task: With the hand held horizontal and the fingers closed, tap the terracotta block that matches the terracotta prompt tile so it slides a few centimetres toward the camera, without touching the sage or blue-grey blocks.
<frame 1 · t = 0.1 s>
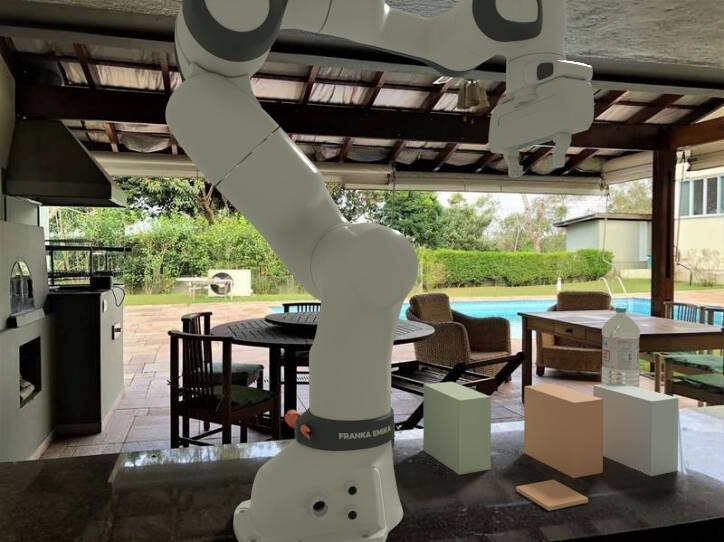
hand: (534, 172, 84), 48 cm above the counter, tool pointing down, fingers open, 8 cm apart
prompt tile: (551, 496, 78), on the counter
blue-grey block: (633, 460, 93), on the counter
sage block: (455, 459, 93), on the counter
water bottle: (619, 433, 107), on the counter
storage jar: (364, 447, 100), on the counter
terracotta block: (561, 462, 92), on the counter
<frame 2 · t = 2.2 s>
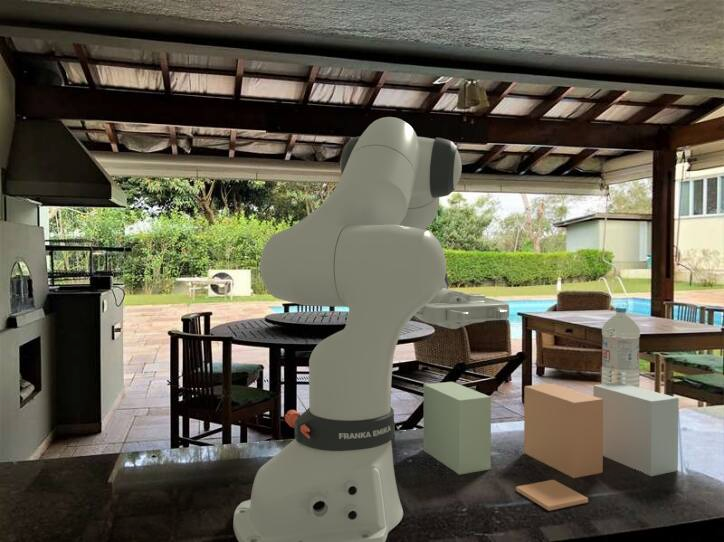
hand: (485, 315, 113), 23 cm above the counter, tool horizontal, fingers open, 8 cm apart
nothing on the counter moved.
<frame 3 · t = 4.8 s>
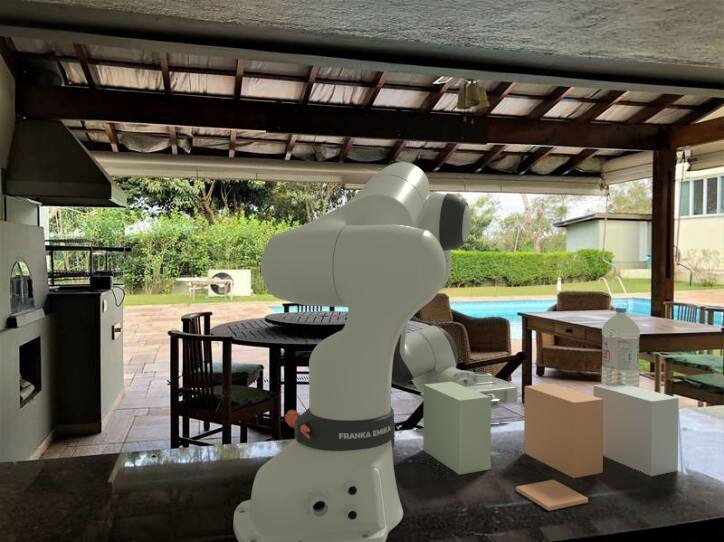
hand: (494, 404, 109), 5 cm above the counter, tool horizontal, fingers closed
nothing on the counter moved.
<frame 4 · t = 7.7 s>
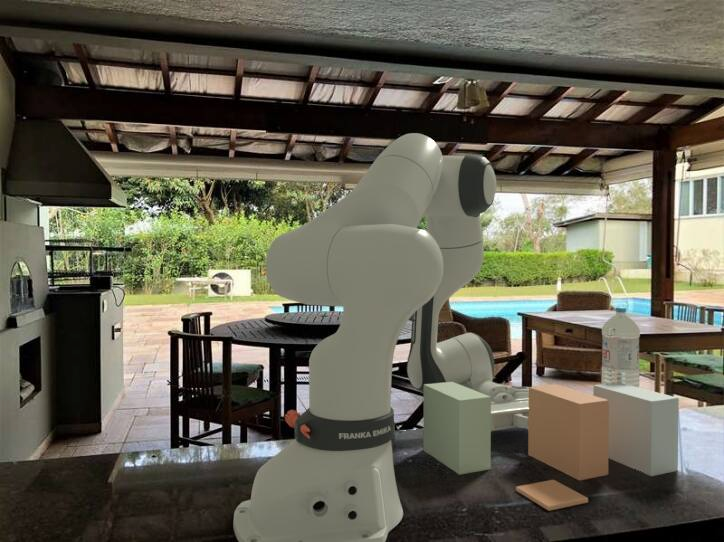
hand: (541, 425, 96), 5 cm above the counter, tool horizontal, fingers closed, pressing on terracotta block
terracotta block: (566, 464, 91), on the counter, touching gripper
everything else where it was.
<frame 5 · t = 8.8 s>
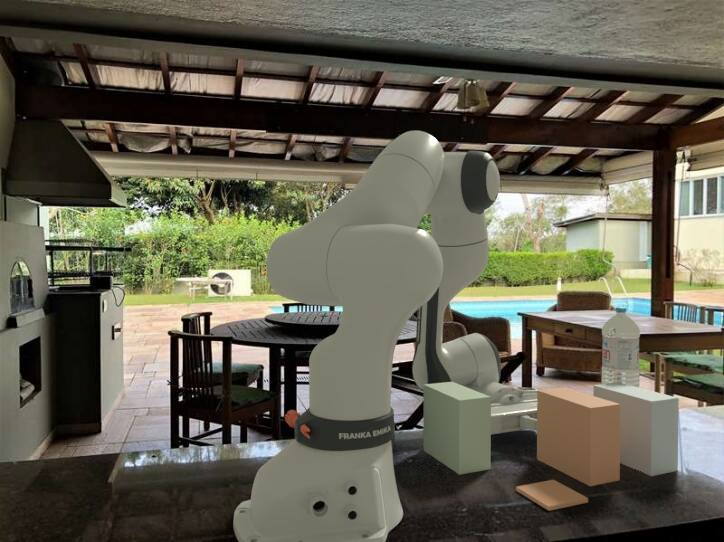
hand: (549, 427, 95), 5 cm above the counter, tool horizontal, fingers closed
terracotta block: (576, 469, 89), on the counter
everything else where it was.
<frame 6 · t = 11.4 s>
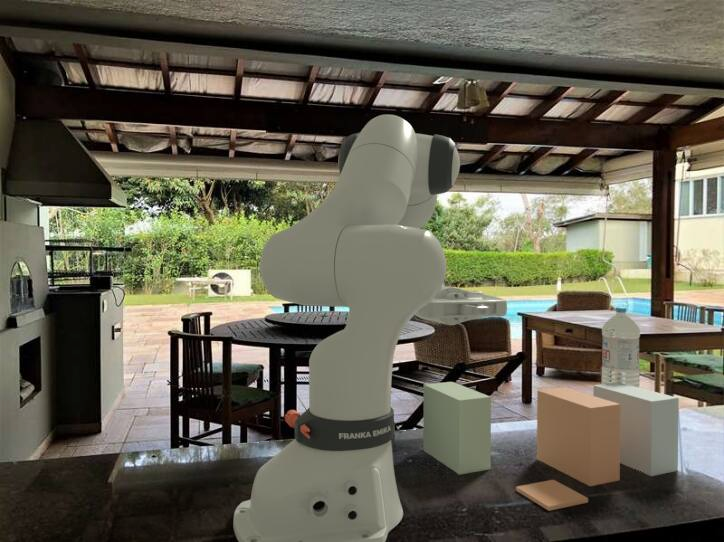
hand: (483, 311, 113), 24 cm above the counter, tool horizontal, fingers closed
nothing on the counter moved.
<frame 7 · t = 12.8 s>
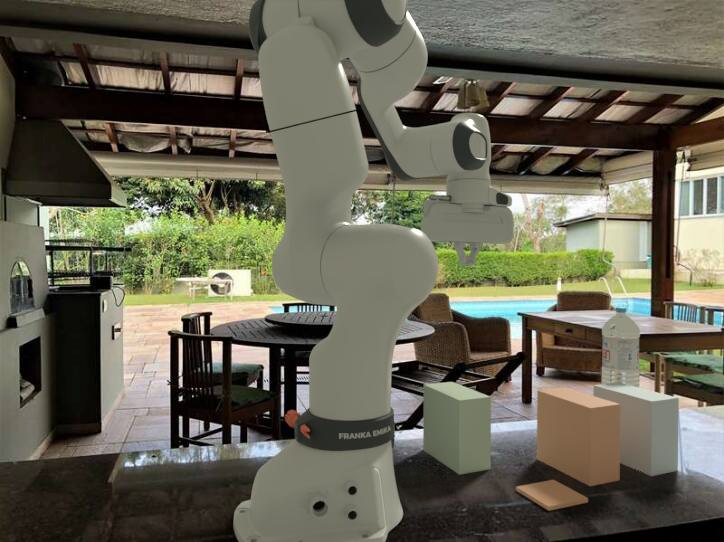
hand: (467, 265, 109), 33 cm above the counter, tool pointing down, fingers closed
nothing on the counter moved.
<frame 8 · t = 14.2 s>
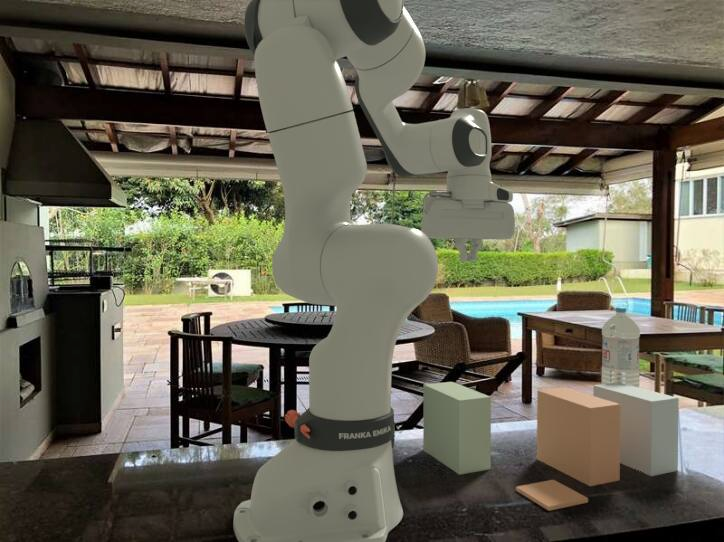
hand: (468, 261, 109), 34 cm above the counter, tool pointing down, fingers closed
nothing on the counter moved.
at the end: terracotta block 0.9 cm from the target spot, on the counter; sage block moved 0.1 cm from its start; blue-grey block moved 0.1 cm from its start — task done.
